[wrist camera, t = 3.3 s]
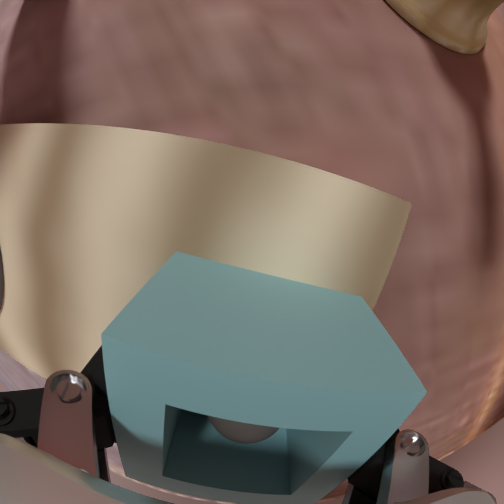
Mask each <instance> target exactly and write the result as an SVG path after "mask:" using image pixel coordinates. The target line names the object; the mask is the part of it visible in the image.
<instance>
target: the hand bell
mask: <svg viewBox="0 0 504 504" xmlns="http://www.w3.org/2000/svg"><path fill="white" fill-rule="evenodd" d="M385 1H386V2H387V3H388V4H389V5H390V6H391V7H392V8H393V9H394V10H395V11H396V12H397V13H398V14H399V15H400V16H401V17H402V18H404V19H405V20H406V21H407V22H408V23H410V24H411V25H412V26H413V27H415V28H416V29H417V30H419V31H420V32H421V33H423V34H424V35H426V36H427V37H428V38H430V39H432V40H433V41H435V42H436V43H438V44H440V45H442V46H443V47H445V48H447V49H449V50H452V51H455V52H458V53H462V54H474V53H477V52H479V51H480V50H481V49H482V48H483V46H484V44H485V42H486V38H487V26H486V25H487V21H488V19H489V17H490V15H491V14H492V12H493V11H494V10H495V9H496V8H497V7H498V6H499V5H500V4H501V3H503V2H504V0H385Z"/></svg>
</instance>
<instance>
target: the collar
mask: <svg viewBox="0 0 504 504" xmlns="http://www.w3.org/2000/svg"><path fill="white" fill-rule="evenodd" d="M101 339H102V353H103V363H104V373H105V381H106V388H107V395H108V401H109V407H110V413H111V418H112V423H113V428H114V433H115V437H116V442H117V446H118V450H119V454H120V458H121V461H122V465H123V468H124V472H125V475H126V476H127V477H130V478H133V479H135V480H138V481H141V482H144V483H147V484H150V485H154V486H157V487H160V488H164V489H167V490H171V491H175V492H179V493H183V494H187V495H192V496H197V497H202V498H207V499H213V500H219V501H225V502H233V503H242V504H315V503H316V502H318V501H319V500H320V499H322V498H323V497H324V496H326V495H327V494H328V493H330V492H331V491H332V490H333V489H335V488H336V487H337V486H338V485H340V484H341V483H342V482H343V481H345V480H346V479H347V478H348V477H349V476H350V475H352V474H353V473H354V472H355V471H356V470H357V469H358V468H359V467H361V466H362V465H363V464H364V463H365V462H366V461H367V460H368V459H369V458H370V457H371V456H372V455H373V454H374V453H375V452H376V451H377V450H378V449H379V448H380V447H381V446H382V445H383V444H384V443H385V442H386V441H387V440H388V439H389V438H390V437H391V436H392V434H393V433H394V432H395V431H396V430H397V429H398V428H399V427H400V425H401V424H402V423H403V422H404V421H405V420H406V418H407V417H408V416H409V415H410V414H411V412H412V411H413V410H414V409H415V407H416V406H417V405H418V403H419V402H420V401H421V400H422V398H423V397H424V396H425V394H426V393H427V391H426V389H425V388H424V386H423V385H422V383H421V382H420V380H419V378H418V377H417V375H416V374H415V372H414V371H413V369H412V368H411V366H410V365H409V363H408V362H407V360H406V359H405V357H404V356H403V354H402V353H401V351H400V350H399V348H398V347H397V345H396V344H395V342H394V341H393V340H392V338H391V337H390V335H389V334H388V332H387V331H386V330H385V328H384V327H383V325H382V324H381V322H380V321H379V320H378V318H377V317H376V316H375V314H374V313H373V311H372V310H371V309H370V307H369V306H368V305H367V303H366V302H365V300H364V299H363V298H362V296H357V295H353V294H349V293H344V292H340V291H336V290H331V289H327V288H323V287H318V286H314V285H310V284H306V283H301V282H297V281H293V280H289V279H285V278H281V277H276V276H272V275H268V274H264V273H260V272H256V271H252V270H248V269H244V268H240V267H236V266H232V265H228V264H224V263H220V262H216V261H212V260H208V259H204V258H200V257H197V256H193V255H189V254H185V253H181V252H177V251H176V252H175V253H174V254H173V255H172V256H171V258H170V259H169V260H168V261H167V262H166V263H165V264H164V265H163V266H162V267H161V268H160V269H159V270H158V271H157V272H156V273H155V274H154V275H153V276H152V278H151V279H150V280H149V281H148V282H147V283H146V284H145V285H144V286H143V287H142V288H141V289H140V291H139V292H138V293H137V294H136V295H135V296H134V297H133V298H132V299H131V300H130V302H129V303H128V304H127V305H126V306H125V307H124V308H123V309H122V310H121V312H120V313H119V314H118V315H117V316H116V317H115V318H114V320H113V321H112V322H111V323H110V324H109V325H108V326H107V328H106V329H105V330H104V331H103V332H102V333H101ZM208 416H212V417H217V418H222V419H227V420H232V421H237V422H243V423H249V424H255V425H262V426H270V427H278V428H279V429H278V431H277V432H276V433H275V434H273V435H272V436H271V437H269V438H267V439H265V440H263V441H260V442H257V443H249V444H245V443H238V442H234V441H231V440H229V439H227V438H225V437H224V436H222V435H221V434H220V433H219V432H217V431H216V429H215V428H214V427H213V425H212V424H211V422H210V420H209V417H208Z"/></svg>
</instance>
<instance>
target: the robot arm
mask: <svg viewBox="0 0 504 504" xmlns="http://www.w3.org/2000/svg"><path fill="white" fill-rule="evenodd" d="M114 442H115V443H117V442H116V437H115V433H114V428H113V423H112V418H111V413H110V407H109V401H108V395H107V388H106V381H105V373H104V363H103V353H102V345H101V347H100V348H99V349H98V350H97V352H96V353H95V354H94V355H93V357H92V358H91V359H90V361H89V362H88V363H87V365H86V366H85V367H84V368H83V370H82V371H81V372H80V373H79V372H77V371H73V370H60V371H56V372H55V373H53V374H51V375H50V376H49V377H48V378H47V380H46V383H45V387H44V388H38V389H30V390H20V391H9V392H0V504H173V503H169V502H166V501H162V500H158V499H155V498H151V497H148V496H145V495H142V494H139V493H136V492H133V491H130V490H128V489H125V488H122V487H120V486H117V485H114V484H112V483H111V480H110V474H109V467H108V460H107V452H106V448H108V447H111V446H113V444H114ZM348 482H349V483H348V487H347V490H346V493H345V496H344V500H343V502H342V504H497V503H496V499H495V497H494V496H493V495H492V494H491V493H489V492H487V491H485V490H482V489H480V488H478V487H476V486H474V485H472V484H471V483H468V482H467V481H465V482H464V481H463V478H462V476H461V474H460V473H459V472H458V471H457V470H455V469H454V468H451V467H450V466H448V465H446V464H444V463H442V462H440V461H438V460H436V459H435V458H433V457H431V456H429V447H428V443H427V441H426V439H425V438H424V437H423V436H422V435H421V434H420V433H418V432H416V431H414V430H409V429H407V430H402V431H399V429H397V430H396V431H395V432H394V433H393V434H392V436H391V437H390V438H389V439H388V440H387V441H386V442H385V443H384V444H383V445H382V446H381V447H380V448H379V449H378V450H377V451H376V452H375V453H374V454H373V455H372V456H371V457H370V458H369V459H368V460H367V461H366V462H365V463H364V464H363V465H362V466H361V467H359V468H358V469H357V470H356V471H355V472H354V473H353V474H352V475H350V476H349V477H348Z"/></svg>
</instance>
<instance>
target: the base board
mask: <svg viewBox="0 0 504 504" xmlns="http://www.w3.org/2000/svg"><path fill="white" fill-rule="evenodd" d="M411 206H412V203H410V202H407V201H405V200H402V199H400V198H398V197H395V196H393V195H390V194H388V193H385V192H383V191H380V190H377V189H375V188H372V187H369V186H367V185H364V184H361V183H359V182H356V181H353V180H350V179H347V178H344V177H341V176H338V175H335V174H332V173H329V172H326V171H323V170H320V169H317V168H314V167H310V166H307V165H304V164H300V163H297V162H293V161H290V160H286V159H283V158H279V157H275V156H272V155H268V154H264V153H260V152H256V151H252V150H248V149H244V148H239V147H235V146H231V145H226V144H221V143H216V142H212V141H207V140H201V139H196V138H191V137H185V136H179V135H173V134H167V133H160V132H153V131H146V130H138V129H129V128H120V127H110V126H98V125H83V124H59V123H23V124H0V349H2V350H3V351H4V352H6V353H7V354H8V355H10V356H11V357H13V358H14V359H15V360H17V361H18V362H20V363H21V364H23V365H24V366H26V367H27V368H29V369H30V370H32V371H34V372H35V373H37V374H38V375H40V376H42V377H43V378H45V379H47V378H48V377H49V376H50V375H51V374H53V373H55V372H56V371H60V370H73V371H77V372H79V373H80V372H81V371H82V370H83V368H84V367H85V366H86V365H87V363H88V362H89V361H90V359H91V358H92V357H93V355H94V354H95V353H96V352H97V350H98V349H99V348H100V347H101V345H102V339H101V333H102V332H103V331H104V330H105V329H106V328H107V326H108V325H109V324H110V323H111V322H112V321H113V320H114V318H115V317H116V316H117V315H118V314H119V313H120V312H121V310H122V309H123V308H124V307H125V306H126V305H127V304H128V303H129V302H130V300H131V299H132V298H133V297H134V296H135V295H136V294H137V293H138V292H139V291H140V289H141V288H142V287H143V286H144V285H145V284H146V283H147V282H148V281H149V280H150V279H151V278H152V276H153V275H154V274H155V273H156V272H157V271H158V270H159V269H160V268H161V267H162V266H163V265H164V264H165V263H166V262H167V261H168V260H169V259H170V258H171V256H172V255H173V254H174V253H175V252H176V251H177V252H181V253H185V254H189V255H193V256H197V257H200V258H204V259H208V260H212V261H216V262H220V263H224V264H228V265H232V266H236V267H240V268H244V269H248V270H252V271H256V272H260V273H264V274H268V275H272V276H276V277H281V278H285V279H289V280H293V281H297V282H301V283H306V284H310V285H314V286H318V287H323V288H327V289H331V290H336V291H340V292H344V293H349V294H353V295H357V296H362V298H363V299H364V300H365V302H366V303H367V305H368V306H369V307H370V309H371V310H372V311H373V309H374V307H375V305H376V302H377V300H378V298H379V295H380V293H381V291H382V288H383V286H384V283H385V281H386V278H387V276H388V273H389V271H390V268H391V266H392V263H393V260H394V258H395V255H396V252H397V249H398V246H399V244H400V241H401V238H402V235H403V232H404V229H405V225H406V222H407V219H408V216H409V212H410V209H411ZM208 417H209V420H210V422H211V424H212V425H213V427H214V428H215V429H216V431H217V432H219V433H220V434H221V435H222V436H224V437H225V438H227V439H229V440H231V441H234V442H238V443H245V444H249V443H257V442H260V441H263V440H265V439H267V438H269V437H271V436H272V435H273V434H275V433H276V432H277V431H278V429H279V428H278V427H270V426H262V425H255V424H249V423H243V422H237V421H232V420H227V419H222V418H217V417H212V416H208Z"/></svg>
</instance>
